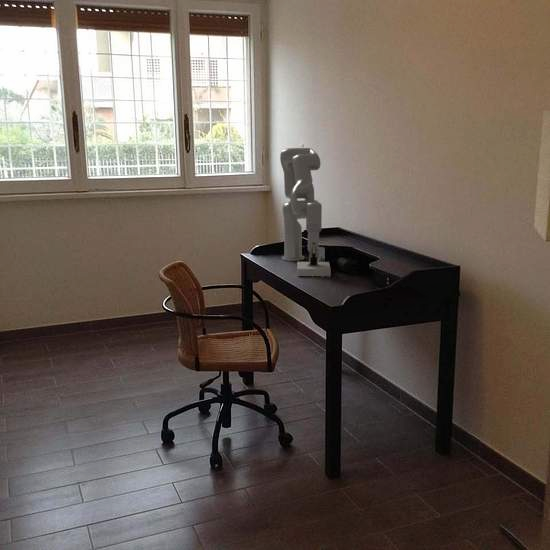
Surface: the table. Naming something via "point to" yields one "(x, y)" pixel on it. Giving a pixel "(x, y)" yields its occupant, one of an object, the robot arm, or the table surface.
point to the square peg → (309, 259)
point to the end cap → (346, 265)
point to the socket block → (313, 269)
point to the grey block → (321, 254)
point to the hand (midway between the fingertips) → (313, 263)
